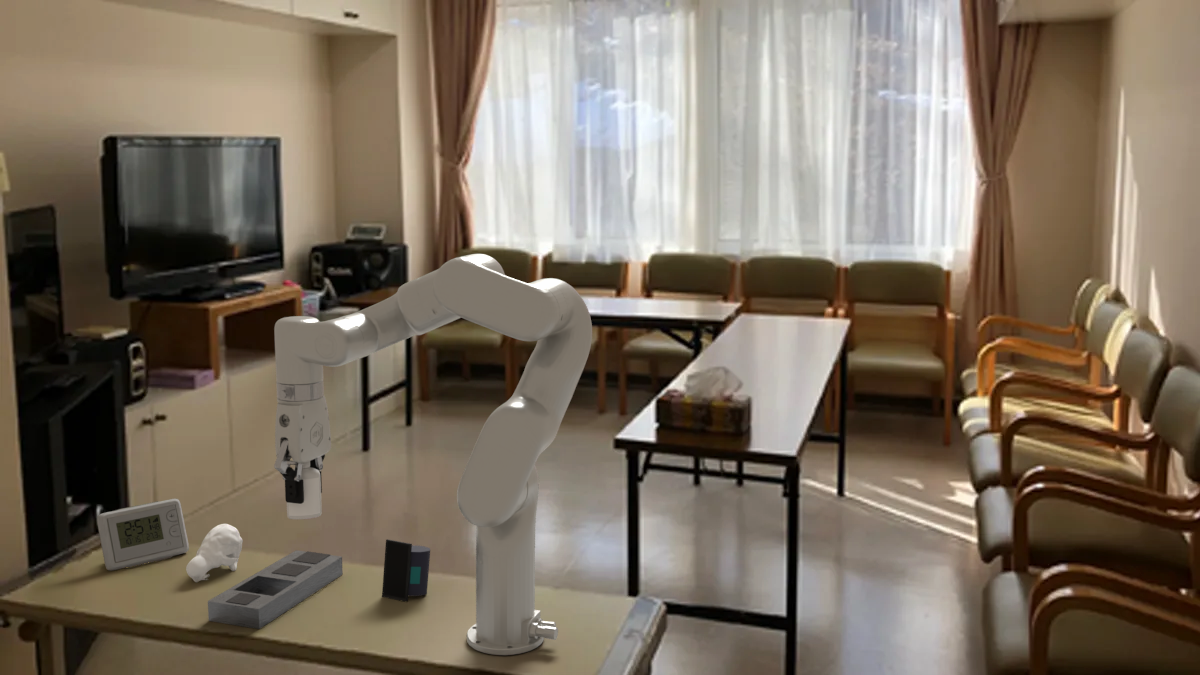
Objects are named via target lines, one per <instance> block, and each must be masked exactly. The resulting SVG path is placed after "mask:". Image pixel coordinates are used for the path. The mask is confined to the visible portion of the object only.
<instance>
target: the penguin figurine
mask: <svg viewBox="0 0 1200 675" xmlns="http://www.w3.org/2000/svg"><path fill="white" fill-rule="evenodd" d="M240 535H241V534H240V532H239V529H237V528H236V527H235V526H233V525H231V524H228V523H221V524H218V525H216V526H214V527H213V528H211V529H210V531H209V532H207V534H206V535H205V537H204V538H203V540H202V542H201V544H200V547H199V548H198V549H197V551H196V555H195V556H194V557H193V558H192V559H191V560H189V562H188V563H187V564H186V568H185V570H186V573H187V575H188V577H190V578H191V579H192V580H193V582H195V583H198V582H200V581H209V579H208V578H209V577H210V573H208V572H209V571H211V570H213V569H215V568H219V567H221V566H224V567H228V568H229V569H230V570H231V571H232V572H235V571H236V570H237V568H238V562H239V558H240V554H241V552H242V549H243V541H244V540H243V538H242V537H241V536H240ZM207 573H208V574H207Z"/></svg>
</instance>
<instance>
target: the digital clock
mask: <svg viewBox="0 0 1200 675" xmlns="http://www.w3.org/2000/svg"><path fill="white" fill-rule="evenodd" d="M96 523H97V524H96V525H97V529H98V534H99V535H98V536H99V540H100V546H101V550H102V557H103V561H104V566H105V568H106V569H105V570H108V571H117V570H120V569H124V568H125V567H130V568H133V567H132V566H134V567H137V566H136V565H138V566H142V565H145V564H144V563H147V564H150V562H151V563H154V561H155V562H159V561H163V560H167V559H170V558H171V559H172V557H175V556H178V555H179V556H180V555H182V554H185V553H187V552H189V550H190V547H189V546H190V544H189V540H188V535H187V530H186V525H185V519H184V515H183V509H182V503H181V501H180V500H179V498H171V499H166V500H162V501H161V500H160V501H158V500H157V501H152V502H148V503H143V504H142V503H141V504H137V505H134V506H128V507H124V508H118V509H115V510H112V511H107V512H103V513H100V514H98V515H97V516H96ZM148 562H149V563H148ZM141 564H142V565H141ZM125 569H126V568H125Z"/></svg>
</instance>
